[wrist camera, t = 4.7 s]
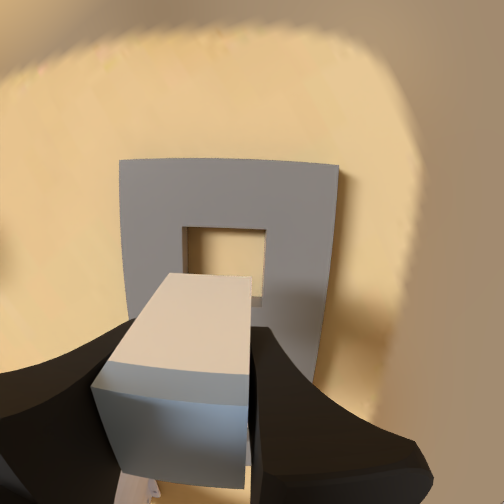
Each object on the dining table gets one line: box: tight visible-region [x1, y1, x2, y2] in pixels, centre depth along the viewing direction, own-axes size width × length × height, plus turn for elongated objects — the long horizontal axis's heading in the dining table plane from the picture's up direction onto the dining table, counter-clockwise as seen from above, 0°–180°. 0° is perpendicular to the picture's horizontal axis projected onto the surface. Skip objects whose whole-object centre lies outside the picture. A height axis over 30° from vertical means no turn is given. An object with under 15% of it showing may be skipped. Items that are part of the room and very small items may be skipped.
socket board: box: [119, 158, 339, 466], centre depth 20 cm, size 24×12×2 cm, turn 178°
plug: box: [90, 273, 252, 489], centre depth 9 cm, size 3×3×7 cm
